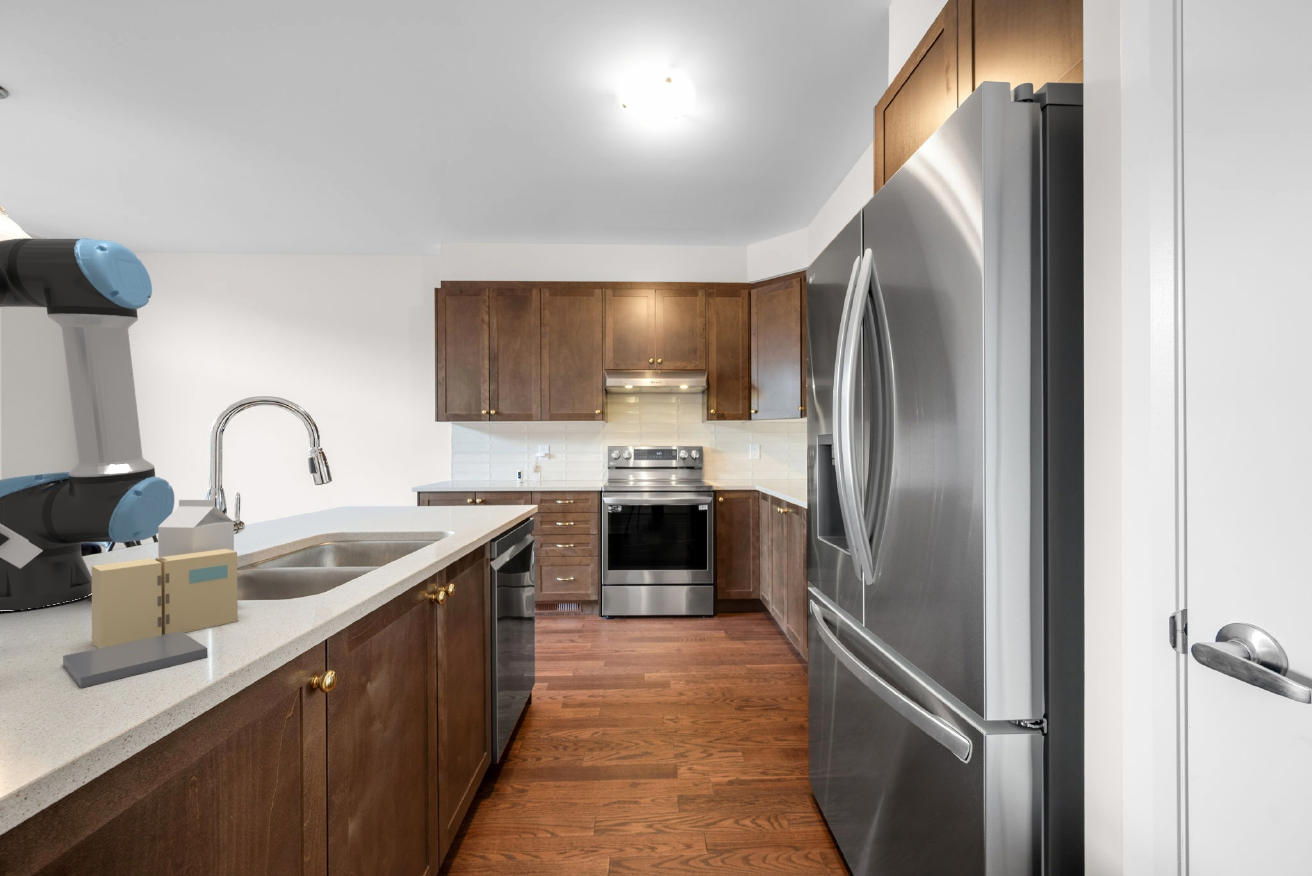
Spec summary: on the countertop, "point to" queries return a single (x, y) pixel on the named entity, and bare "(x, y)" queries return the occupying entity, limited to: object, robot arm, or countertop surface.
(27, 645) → the countertop surface
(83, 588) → the robot arm
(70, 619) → the countertop surface
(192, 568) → the cardboard shipping box
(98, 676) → the plate
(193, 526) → the milk carton
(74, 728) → the countertop surface
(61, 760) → the countertop surface
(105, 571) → the tan rectangular block
